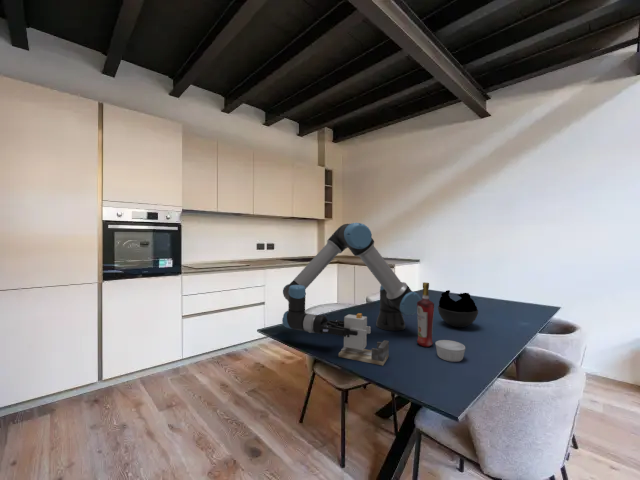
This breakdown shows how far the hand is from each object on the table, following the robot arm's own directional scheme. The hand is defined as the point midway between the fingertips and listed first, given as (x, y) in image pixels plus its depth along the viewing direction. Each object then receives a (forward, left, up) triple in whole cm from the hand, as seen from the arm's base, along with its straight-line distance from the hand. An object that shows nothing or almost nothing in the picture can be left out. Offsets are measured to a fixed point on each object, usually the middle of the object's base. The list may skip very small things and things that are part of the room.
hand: (368, 332), depth 120 cm
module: (+5, -3, -7) cm, 8 cm away
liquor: (-30, -12, -10) cm, 34 cm away
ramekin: (-34, +2, -11) cm, 35 cm away
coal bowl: (-61, -38, -10) cm, 72 cm away
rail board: (+1, -1, -10) cm, 10 cm away
